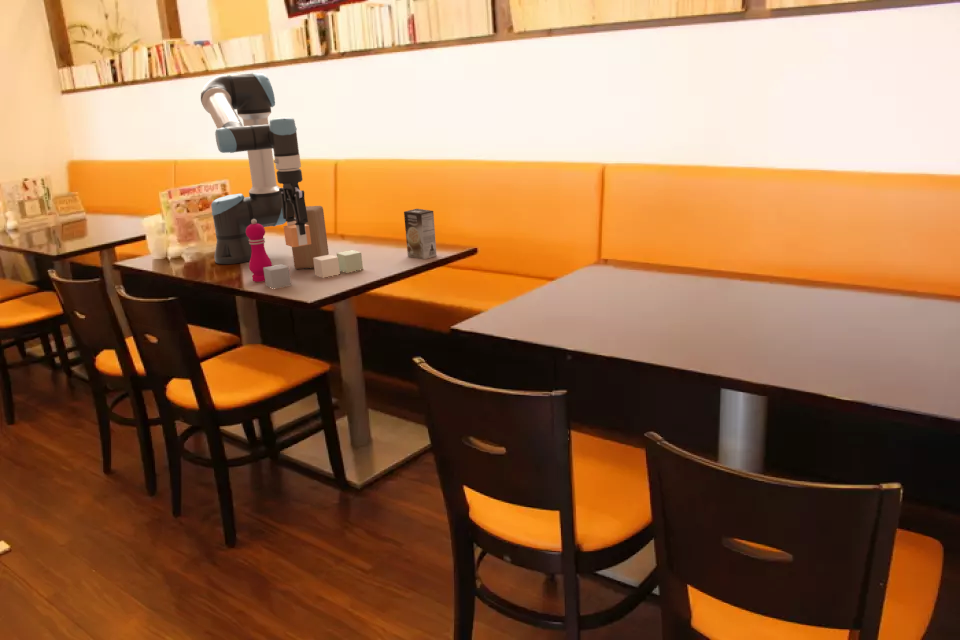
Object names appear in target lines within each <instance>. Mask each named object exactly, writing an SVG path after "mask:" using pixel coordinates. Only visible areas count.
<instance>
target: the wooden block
mask: <svg viewBox="0 0 960 640" xmlns="http://www.w3.org/2000/svg"><path fill="white" fill-rule="evenodd" d="M306 212H307V218H308V222H306V223H305V224H306V225H309V229H310V237H311V244H309V245H304V246H299V247H291V250H292V251H291V253H292V258H293V265H294V266H293V267H294V269H297V270H302V269H304V268H310V269H314V261H313V258H315V257H320V256H325V255H330V254H329V245H328V237H327V228H326V223H325V222H326V221H325V212H324V207H323V206H321V205H306ZM294 218H295V214H294ZM294 221H296V220H294ZM296 223H297V222H296ZM304 270H305V269H304Z"/></svg>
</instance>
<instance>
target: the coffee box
mask: <svg viewBox="0 0 960 640" xmlns="http://www.w3.org/2000/svg"><path fill="white" fill-rule="evenodd" d="M434 213H435V212H434V210H429V209H421V208H414V209H409V210H406V211H403V215H404V216H403V217H404V218H403V219H404V229H405V241H406V249H407V250H406V252H407V253H406V254H407V257H410V258H416V259H419V260H420V259H421V260H427V259H430V258H433V257H437V244H436V229H435V227H436V226H435V217H434V216H435V214H434Z"/></svg>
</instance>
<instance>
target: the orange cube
mask: <svg viewBox="0 0 960 640" xmlns="http://www.w3.org/2000/svg"><path fill="white" fill-rule="evenodd" d="M305 229H306V237H307V244H306V245H309V244H311V237H310V229H309V225H306V224H305ZM283 233H284V234H283V235H284V240H285V245H286V246H288V247H291V248H292V247H299V245H298V238H297V231H296V225H295V224H294V225H287V224H286V225H284V226H283ZM300 246H304V245H300Z"/></svg>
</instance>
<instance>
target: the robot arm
mask: <svg viewBox="0 0 960 640" xmlns="http://www.w3.org/2000/svg"><path fill="white" fill-rule="evenodd" d="M200 102H201V105H202V107H203V109H204V110H205V111H206V112H207V113H208V114H209V115H210V117H211V119H212V120H213V122H214V125H215V127H216V130H215V132H214V135H215V141H216V147H217V149H218V151H219V152H220V153H224V154H226V153H230V154H234V153H242V152H247V157H248V164H249V165H248V167H249V172H250V180H251V188H250V189H249V190H248V196H245V195H244V194H243V193H233V194H228V195H223V196H220V197H218V198H216V199H214V200H213V201H211V204H210V205H211V206H210V207H211V216H212V219H213V226H214V231H215V236H216V238H215V239H216V245H215V250H214V261H215V263H216V264H219V265H235V264H241V263H242V264H243V263H246V262H250V259H251V253H252V250H251V244H249V238H248V237H247V235H246V228H247V227H248V226H249V225H250V224H252V223H251V220H252V219H256V220H257V224H261V225H262V226H263V227H264V228H268V227H277V226H281V225H284V224H285V223H286V226H287V225H294V224H295V225H296V231H297V238H298V245H299V246H300V245H306V244H307V237H306V229H305V223H306V222H308V218H307V212H306V206H307V205H306V200H305V191H304V190H301V189H300V186H299V185H300V184H299V183H301V182H302V181H303V173H302V170H301V167H302V164H301V163H302V162H301V155H300V151H299V143H298V142H299V141H298V133H297V128H298V127H297V126H296V120H295V118H293V117H290V116H289V117H287V116H285V117H275V118H274V117H273V118H271V119H270V120H269V116H270V115H271V113H272V108H273V107H275V105H276V99H275V93H274V90H273V86H272V83H271V81H270V79H269V78H268V75H266V74H265V73H262V72H261V73H259V72H256V73H255V72H251V73H240V74H239V73H237V74H236V73H235V74H220V75H217V76H215V77H213V78H211V79H210V80H208V82H207V83H206V84H205V85H204V86H203V88H202V90H201V93H200ZM235 110H236V111H235ZM239 117H240V118H241V119H242V121H241V120H240V118H239ZM242 122H243V123H242ZM273 156H274V157H273ZM275 169H276V170H277V171H275ZM277 183H278V184H280V185H281V184H282V187H280V186H279V185H278V184H277ZM294 214H295V218H294ZM294 220H296V221H294ZM296 222H297V223H296Z"/></svg>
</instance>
